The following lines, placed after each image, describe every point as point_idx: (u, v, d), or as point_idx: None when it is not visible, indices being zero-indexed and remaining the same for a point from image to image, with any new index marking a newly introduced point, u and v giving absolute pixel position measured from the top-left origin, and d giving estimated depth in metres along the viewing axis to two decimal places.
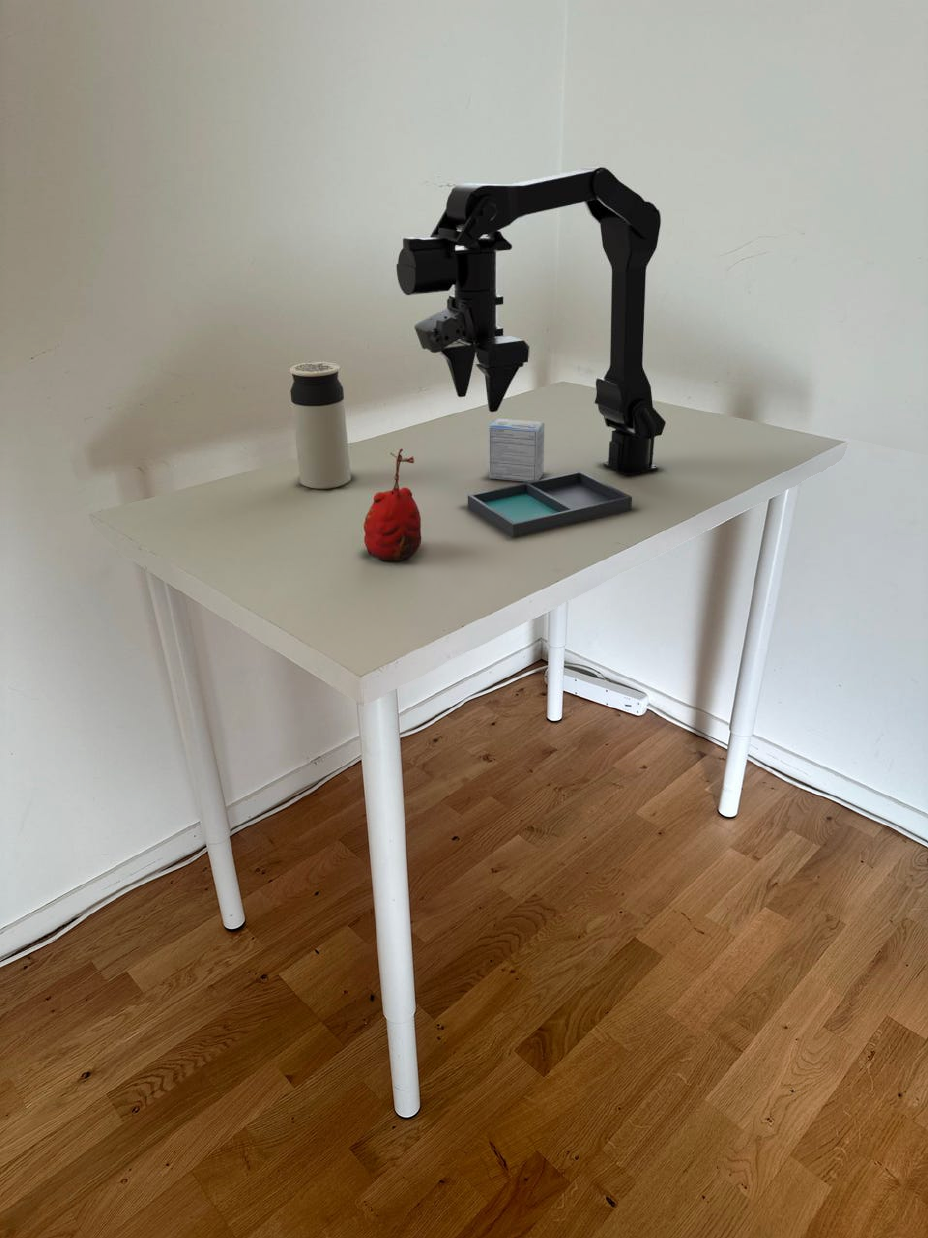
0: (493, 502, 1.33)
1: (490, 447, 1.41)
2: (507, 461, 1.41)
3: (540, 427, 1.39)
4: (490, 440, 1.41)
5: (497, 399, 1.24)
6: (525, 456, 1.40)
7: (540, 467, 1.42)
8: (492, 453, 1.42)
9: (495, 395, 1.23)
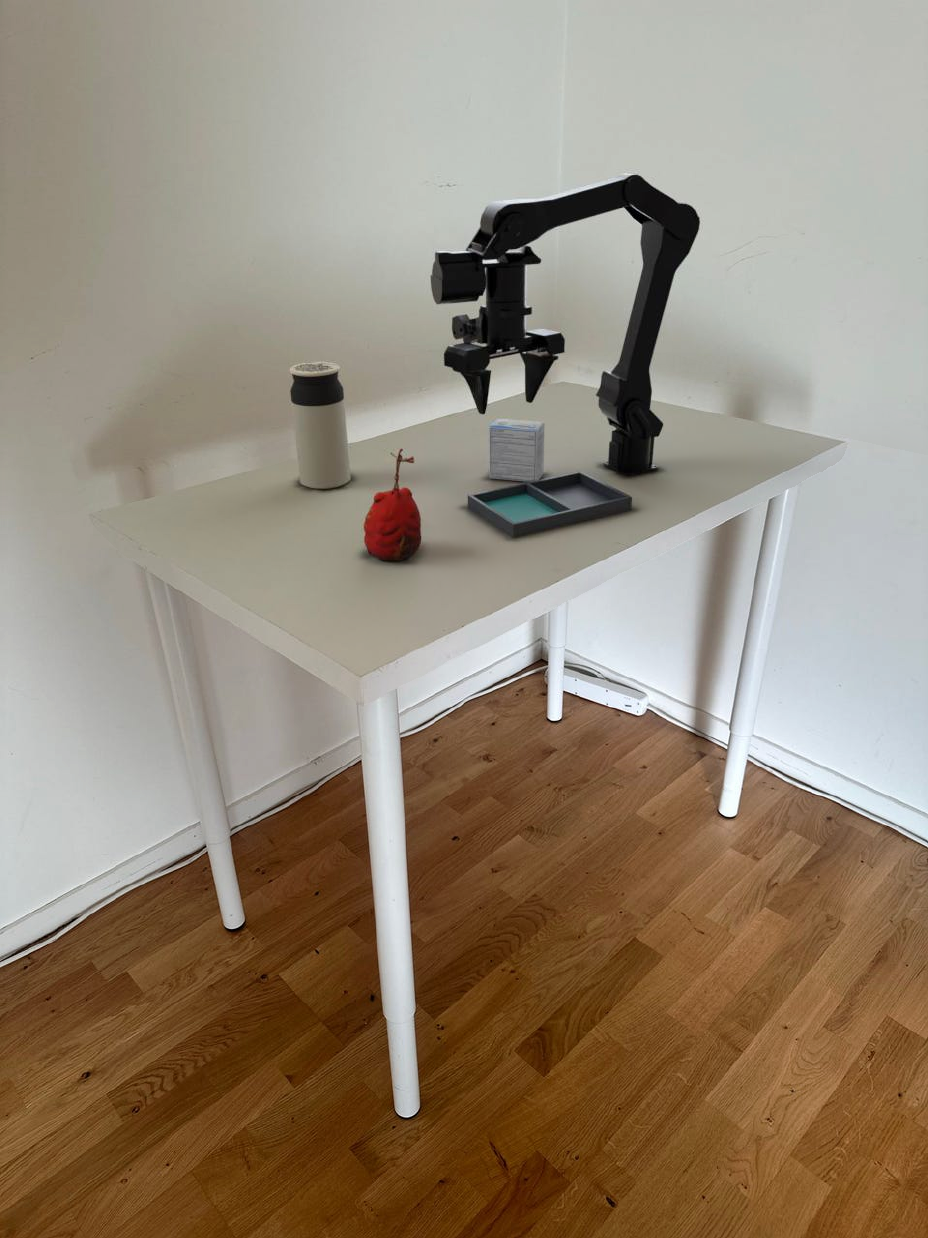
0: (493, 502, 1.33)
1: (490, 447, 1.41)
2: (507, 461, 1.41)
3: (540, 427, 1.39)
4: (490, 440, 1.41)
5: (478, 402, 1.32)
6: (525, 456, 1.40)
7: (540, 467, 1.42)
8: (492, 453, 1.42)
9: (475, 398, 1.32)
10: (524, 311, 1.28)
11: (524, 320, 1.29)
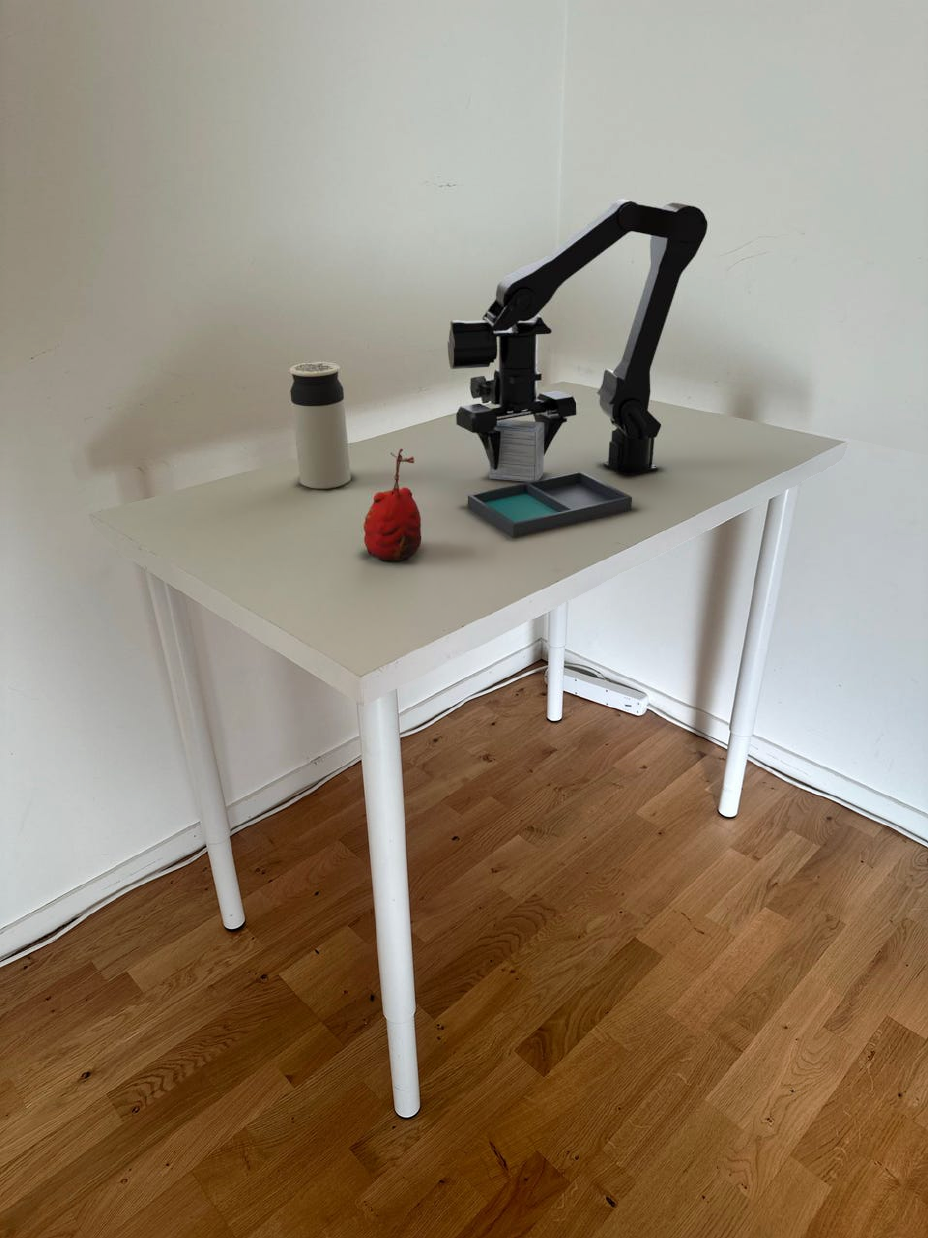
0: (493, 502, 1.33)
1: None
2: (507, 461, 1.41)
3: (540, 427, 1.39)
4: None
5: (491, 459, 1.40)
6: (525, 456, 1.40)
7: (540, 467, 1.42)
8: None
9: (488, 454, 1.40)
10: (533, 377, 1.35)
11: (534, 385, 1.36)
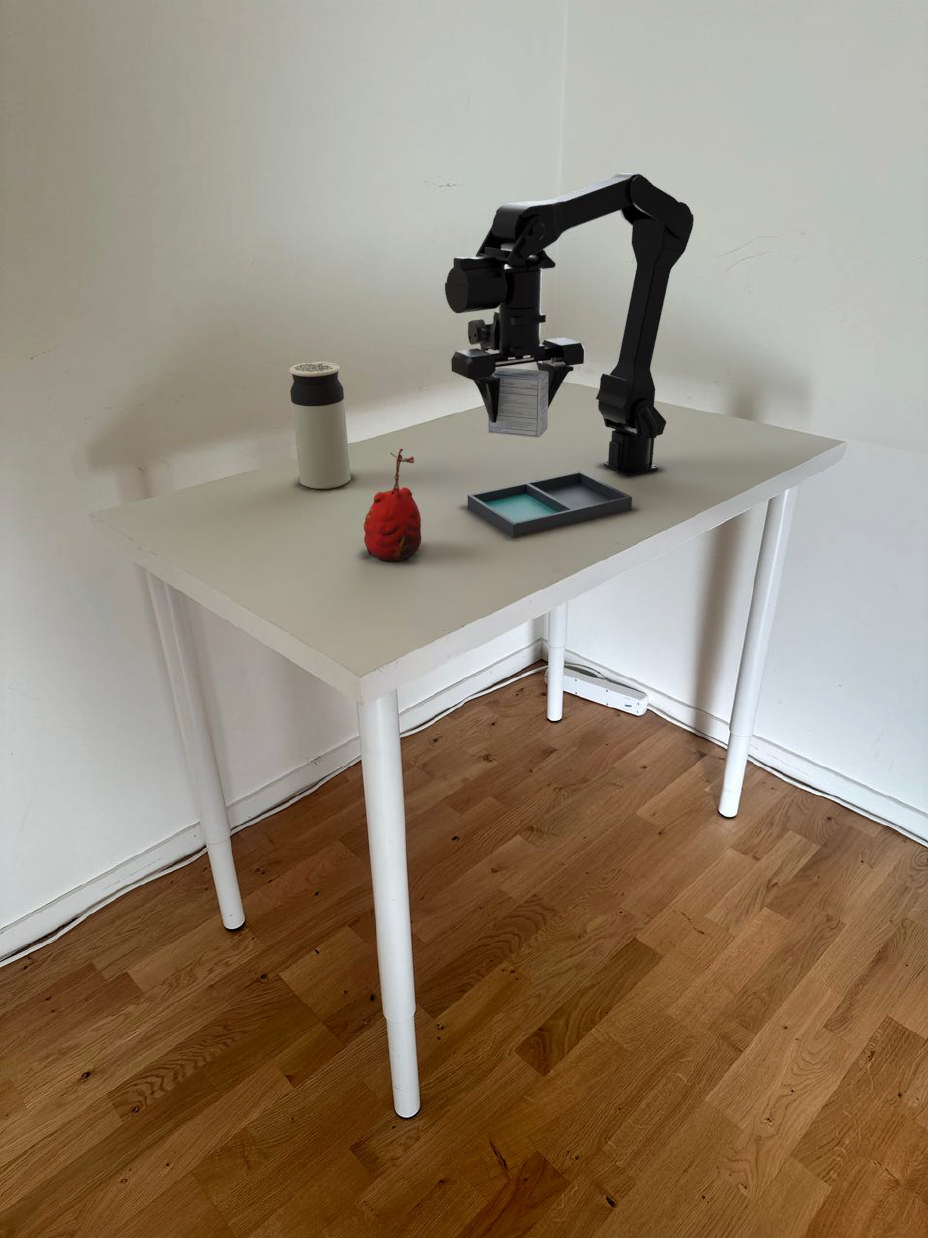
0: (493, 502, 1.33)
1: None
2: (507, 413, 1.29)
3: (544, 376, 1.26)
4: None
5: (489, 410, 1.28)
6: (527, 407, 1.27)
7: (543, 421, 1.29)
8: None
9: (486, 405, 1.28)
10: (537, 319, 1.22)
11: (538, 328, 1.23)
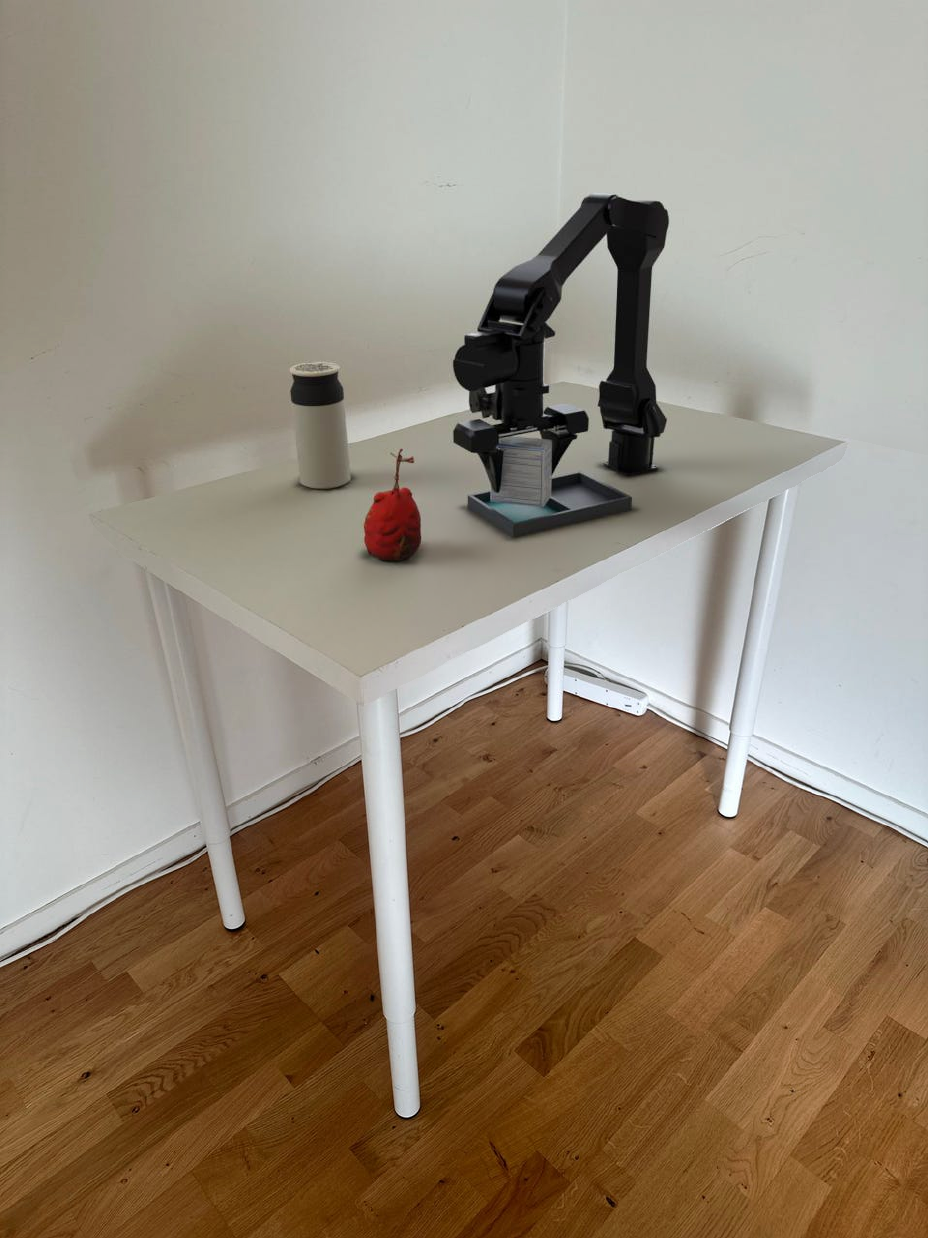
0: (493, 502, 1.33)
1: None
2: (510, 483, 1.26)
3: (547, 445, 1.24)
4: None
5: (492, 481, 1.25)
6: (531, 477, 1.25)
7: (547, 490, 1.27)
8: None
9: (489, 476, 1.25)
10: (540, 390, 1.20)
11: (541, 399, 1.21)
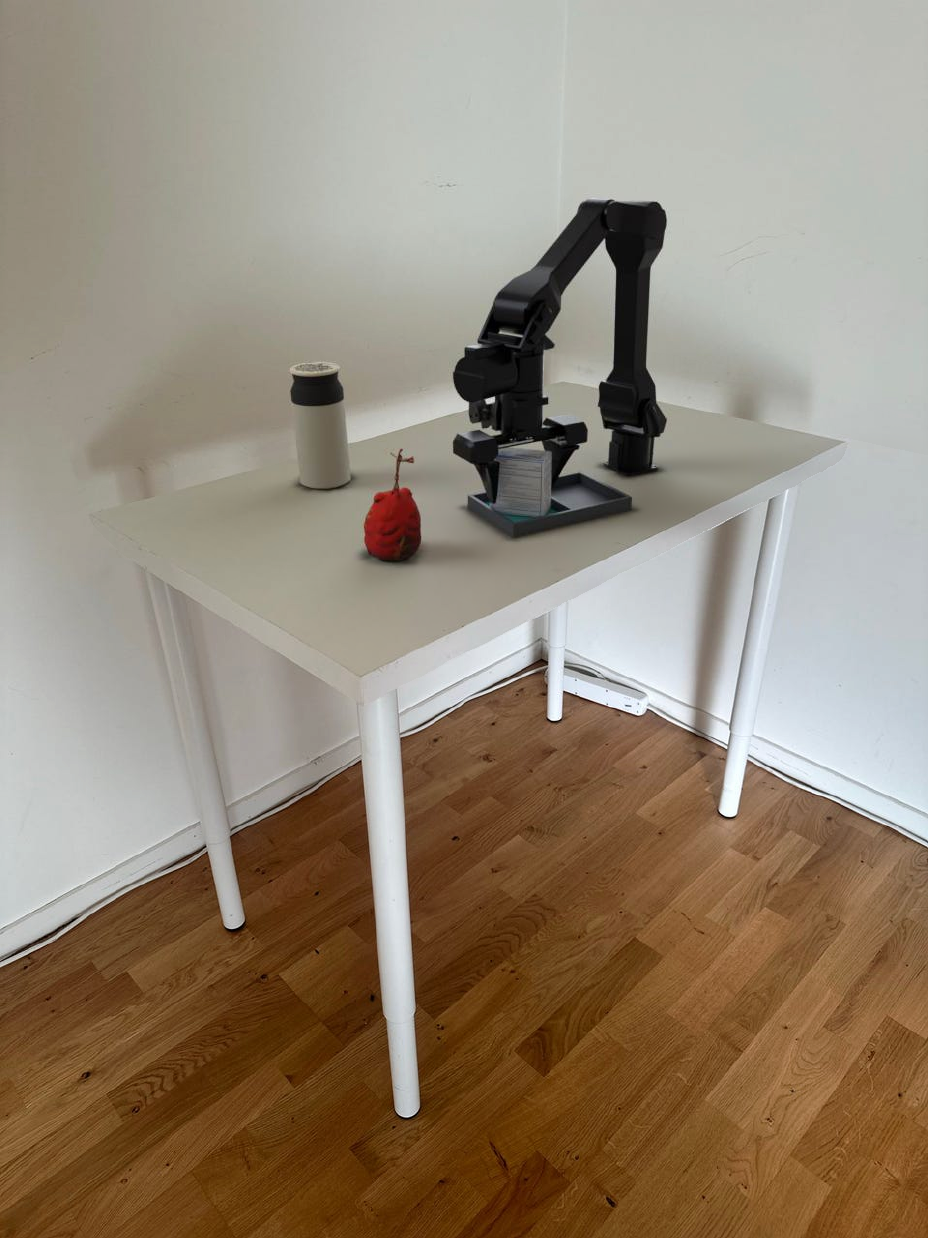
0: None
1: None
2: (510, 494, 1.27)
3: (547, 457, 1.25)
4: None
5: (488, 492, 1.26)
6: (530, 489, 1.26)
7: (547, 501, 1.28)
8: None
9: (486, 487, 1.26)
10: (539, 401, 1.20)
11: (540, 410, 1.22)
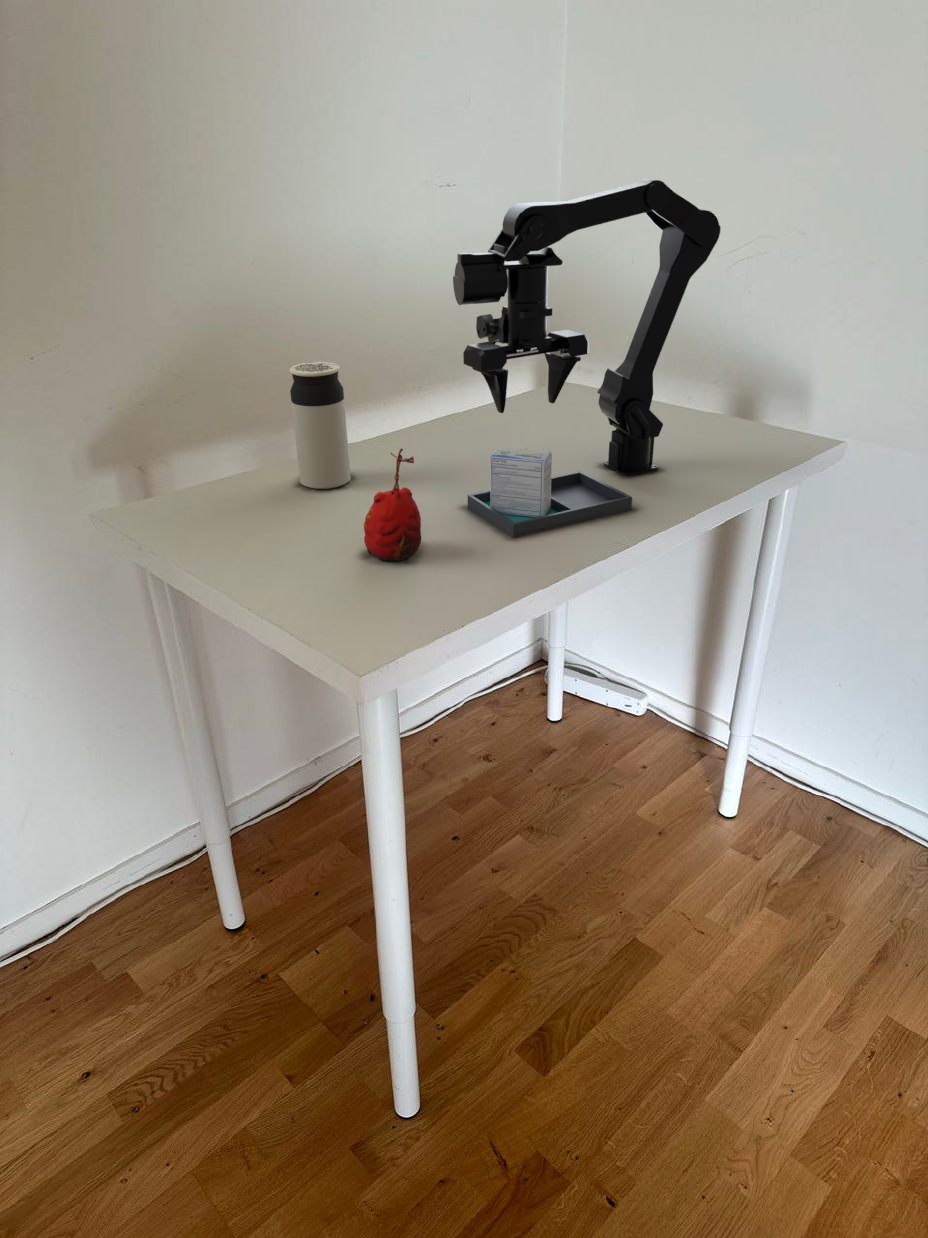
0: None
1: (491, 479, 1.27)
2: (510, 494, 1.27)
3: (547, 457, 1.25)
4: (491, 471, 1.26)
5: (497, 401, 1.34)
6: (530, 489, 1.26)
7: (547, 501, 1.28)
8: (493, 485, 1.27)
9: (494, 396, 1.34)
10: (544, 312, 1.29)
11: (545, 321, 1.30)
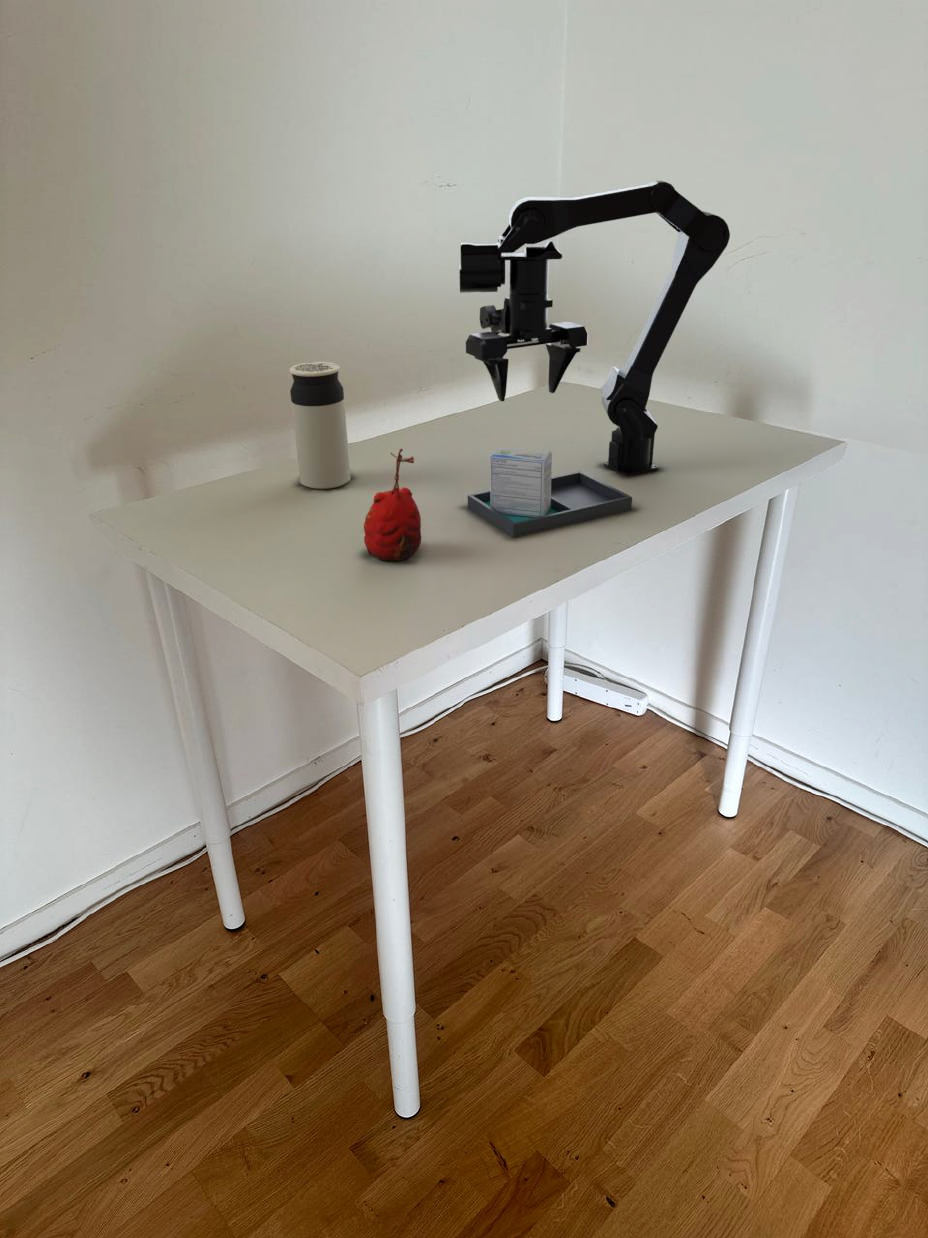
0: None
1: (491, 479, 1.27)
2: (510, 494, 1.27)
3: (547, 457, 1.25)
4: (491, 471, 1.26)
5: (498, 390, 1.38)
6: (530, 489, 1.26)
7: (547, 501, 1.28)
8: (493, 485, 1.27)
9: (495, 385, 1.38)
10: (544, 303, 1.33)
11: (545, 312, 1.34)
